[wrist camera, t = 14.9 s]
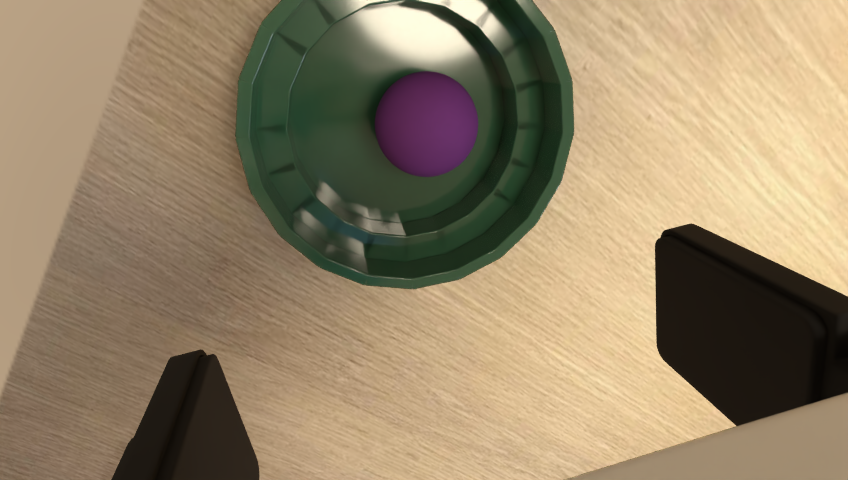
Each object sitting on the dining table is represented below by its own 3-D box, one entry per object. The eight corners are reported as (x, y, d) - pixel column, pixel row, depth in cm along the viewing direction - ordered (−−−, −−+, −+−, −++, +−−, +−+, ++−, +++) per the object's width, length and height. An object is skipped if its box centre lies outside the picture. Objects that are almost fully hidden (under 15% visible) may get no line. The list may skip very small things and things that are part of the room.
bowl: (242, 237, 29) (227, 274, 25) (261, -73, 24) (247, -99, 20) (502, 262, 33) (531, 299, 28) (564, -6, 28) (612, -15, 23)
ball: (352, 167, 27) (403, 181, 23) (361, 64, 26) (416, 60, 22) (433, 173, 30) (491, 186, 26) (444, 80, 29) (506, 79, 25)
